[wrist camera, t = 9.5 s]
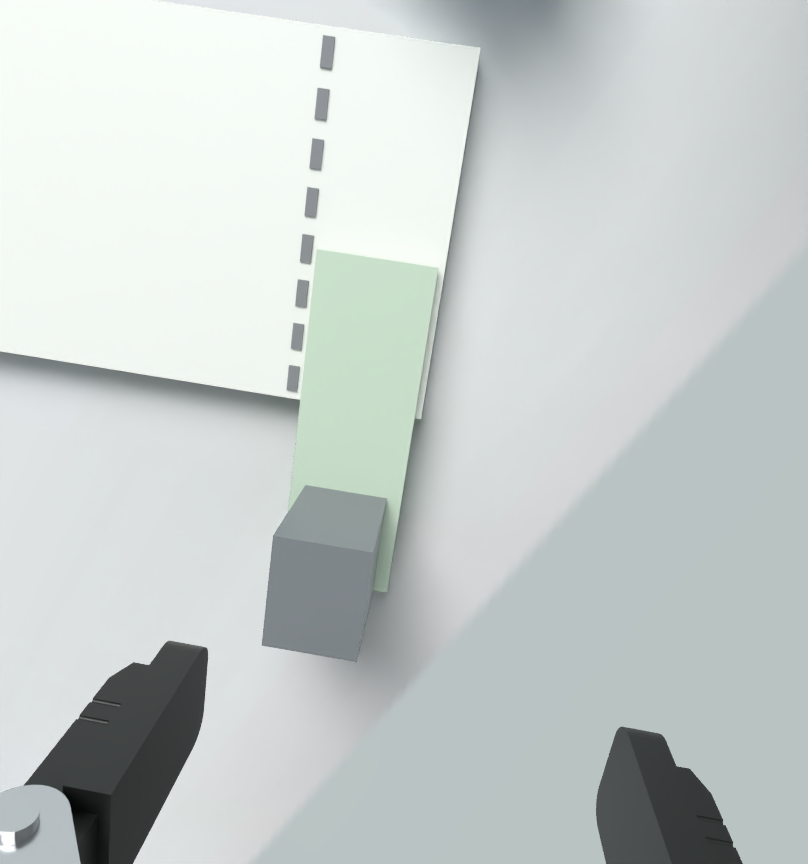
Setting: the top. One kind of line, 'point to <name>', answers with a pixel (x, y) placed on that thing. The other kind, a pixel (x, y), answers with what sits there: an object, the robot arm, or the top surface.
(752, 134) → the top surface
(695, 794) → the robot arm
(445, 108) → the ticket board
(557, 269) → the top surface
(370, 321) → the stub
